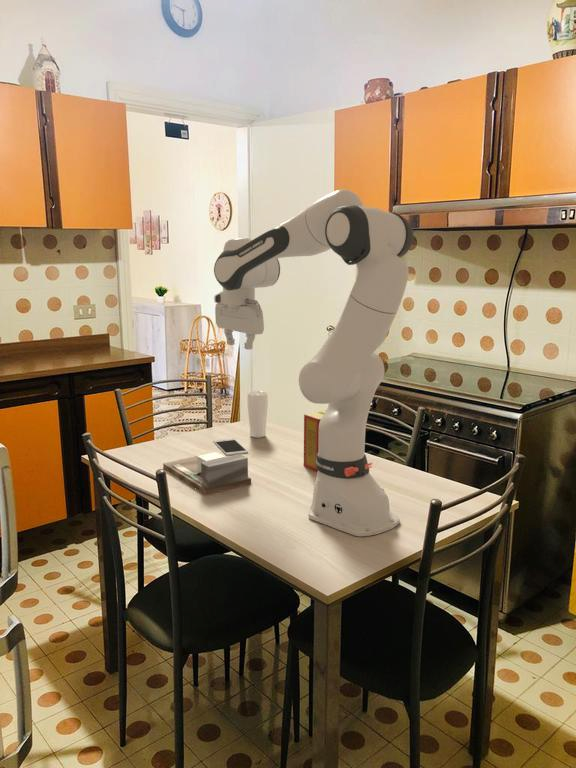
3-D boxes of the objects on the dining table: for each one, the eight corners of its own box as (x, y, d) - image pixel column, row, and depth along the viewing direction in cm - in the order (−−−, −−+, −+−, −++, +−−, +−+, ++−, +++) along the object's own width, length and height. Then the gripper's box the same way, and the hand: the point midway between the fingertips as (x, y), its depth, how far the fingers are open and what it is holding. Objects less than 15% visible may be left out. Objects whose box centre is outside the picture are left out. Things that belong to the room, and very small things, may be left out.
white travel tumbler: (259, 431, 219) (259, 389, 216) (271, 436, 214) (271, 393, 211) (243, 435, 215) (243, 392, 212) (256, 440, 210) (255, 396, 207)
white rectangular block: (225, 473, 174) (225, 456, 173) (198, 480, 169) (198, 462, 168) (216, 468, 178) (216, 452, 177) (189, 475, 173) (189, 457, 172)
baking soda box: (317, 472, 180) (318, 418, 177) (303, 465, 185) (304, 413, 182) (342, 465, 186) (343, 413, 182) (328, 459, 191) (329, 408, 187)
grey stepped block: (251, 483, 171) (250, 457, 170) (205, 495, 163) (205, 467, 162) (205, 458, 191) (205, 435, 189) (163, 468, 183) (162, 443, 181)
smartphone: (233, 440, 211) (233, 437, 211) (248, 454, 197) (248, 451, 197) (213, 442, 208) (212, 440, 208) (226, 457, 194) (226, 454, 194)
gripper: (269, 300, 170) (269, 350, 172) (229, 295, 186) (230, 341, 189) (249, 301, 166) (250, 353, 169) (211, 296, 182) (212, 343, 185)
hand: (239, 347), depth 179 cm, fingers open, 8 cm apart
